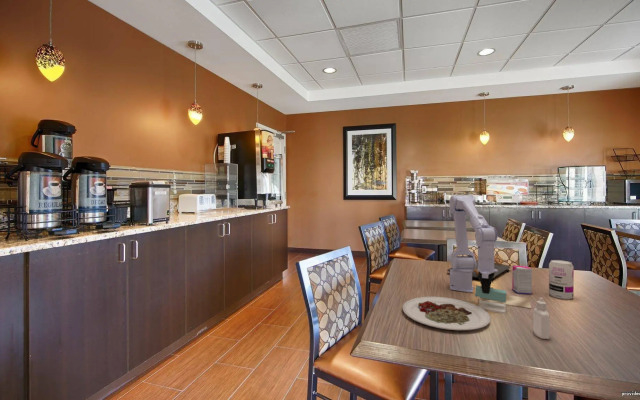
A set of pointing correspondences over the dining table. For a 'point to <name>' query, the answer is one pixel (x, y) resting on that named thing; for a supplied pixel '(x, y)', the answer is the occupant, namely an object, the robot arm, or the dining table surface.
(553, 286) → the supplement can
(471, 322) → the plated food
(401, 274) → the dining table surface
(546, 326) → the eye dropper bottle
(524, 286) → the supplement box
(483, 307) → the grey tile
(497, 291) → the teal bar
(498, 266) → the serving board
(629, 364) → the dining table surface
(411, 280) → the dining table surface
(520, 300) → the board
